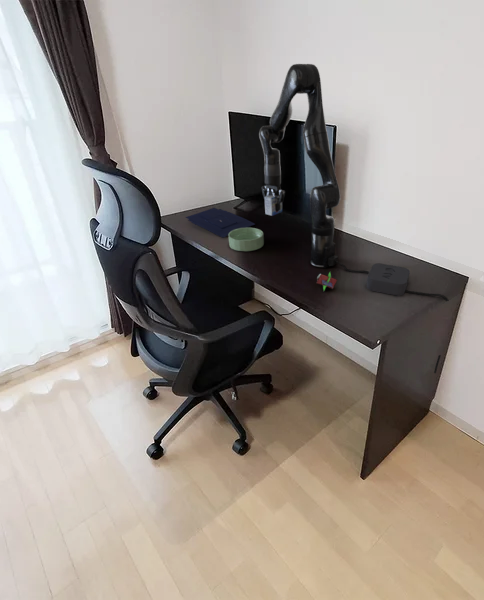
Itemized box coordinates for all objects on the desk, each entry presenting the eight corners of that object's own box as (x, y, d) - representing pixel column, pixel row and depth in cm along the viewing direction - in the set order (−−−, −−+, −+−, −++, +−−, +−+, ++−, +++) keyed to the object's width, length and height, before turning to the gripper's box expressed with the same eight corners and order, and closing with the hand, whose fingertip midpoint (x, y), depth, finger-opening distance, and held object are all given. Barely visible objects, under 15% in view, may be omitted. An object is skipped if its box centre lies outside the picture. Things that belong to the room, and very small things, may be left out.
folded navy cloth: (216, 211, 212) (216, 205, 210) (255, 228, 199) (256, 222, 197) (182, 223, 195) (182, 216, 193) (222, 242, 182) (222, 236, 180)
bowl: (270, 244, 176) (270, 233, 173) (245, 254, 165) (244, 243, 162) (247, 235, 185) (247, 225, 182) (222, 245, 174) (221, 234, 171)
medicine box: (271, 216, 175) (271, 198, 170) (264, 214, 177) (264, 196, 173) (282, 212, 180) (282, 194, 176) (275, 210, 183) (275, 192, 178)
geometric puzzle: (339, 279, 142) (328, 264, 139) (341, 288, 136) (329, 272, 133) (324, 289, 144) (312, 274, 141) (325, 298, 138) (313, 283, 135)
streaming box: (372, 273, 151) (374, 262, 148) (408, 280, 147) (410, 268, 144) (364, 290, 140) (366, 278, 137) (403, 297, 135) (405, 285, 133)
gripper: (255, 172, 170) (257, 208, 179) (278, 177, 162) (279, 214, 171) (267, 169, 175) (268, 204, 184) (289, 174, 167) (289, 211, 176)
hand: (273, 209), depth 178 cm, fingers closed on medicine box, 4 cm apart
